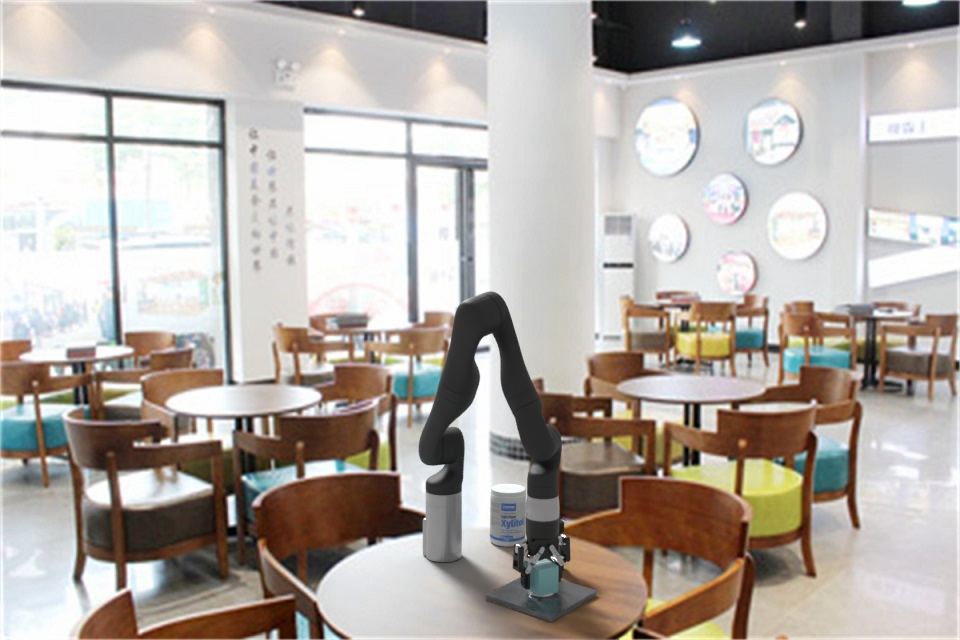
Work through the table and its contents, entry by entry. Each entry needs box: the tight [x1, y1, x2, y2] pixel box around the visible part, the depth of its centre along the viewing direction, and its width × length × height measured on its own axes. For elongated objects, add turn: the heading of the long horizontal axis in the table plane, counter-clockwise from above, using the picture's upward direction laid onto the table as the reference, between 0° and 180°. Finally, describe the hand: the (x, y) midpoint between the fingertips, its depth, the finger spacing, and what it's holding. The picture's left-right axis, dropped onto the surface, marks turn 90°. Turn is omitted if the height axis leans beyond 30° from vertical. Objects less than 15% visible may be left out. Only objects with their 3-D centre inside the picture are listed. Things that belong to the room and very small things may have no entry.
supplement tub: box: [489, 483, 527, 548], centre depth 232 cm, size 10×10×15 cm
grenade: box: [547, 509, 567, 571], centre depth 212 cm, size 6×6×15 cm
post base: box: [485, 576, 598, 623], centre depth 196 cm, size 18×18×6 cm
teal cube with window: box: [527, 559, 559, 596], centre depth 196 cm, size 5×5×6 cm
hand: (541, 584), depth 196 cm, fingers open, 8 cm apart
